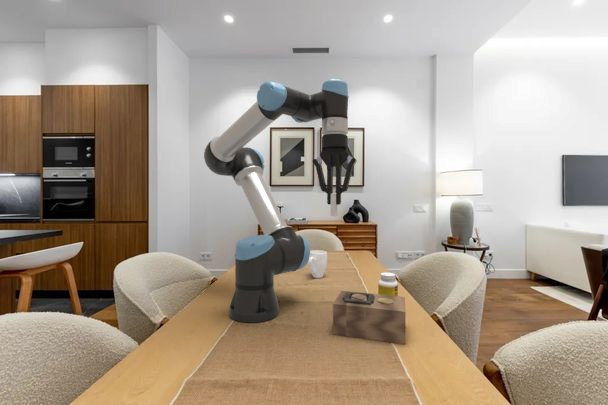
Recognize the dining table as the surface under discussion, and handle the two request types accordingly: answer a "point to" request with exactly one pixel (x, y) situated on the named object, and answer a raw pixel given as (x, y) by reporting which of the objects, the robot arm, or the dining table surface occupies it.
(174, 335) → the dining table surface
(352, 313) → the socket block
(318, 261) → the mug
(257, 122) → the robot arm
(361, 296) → the oak peg
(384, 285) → the pill bottle
